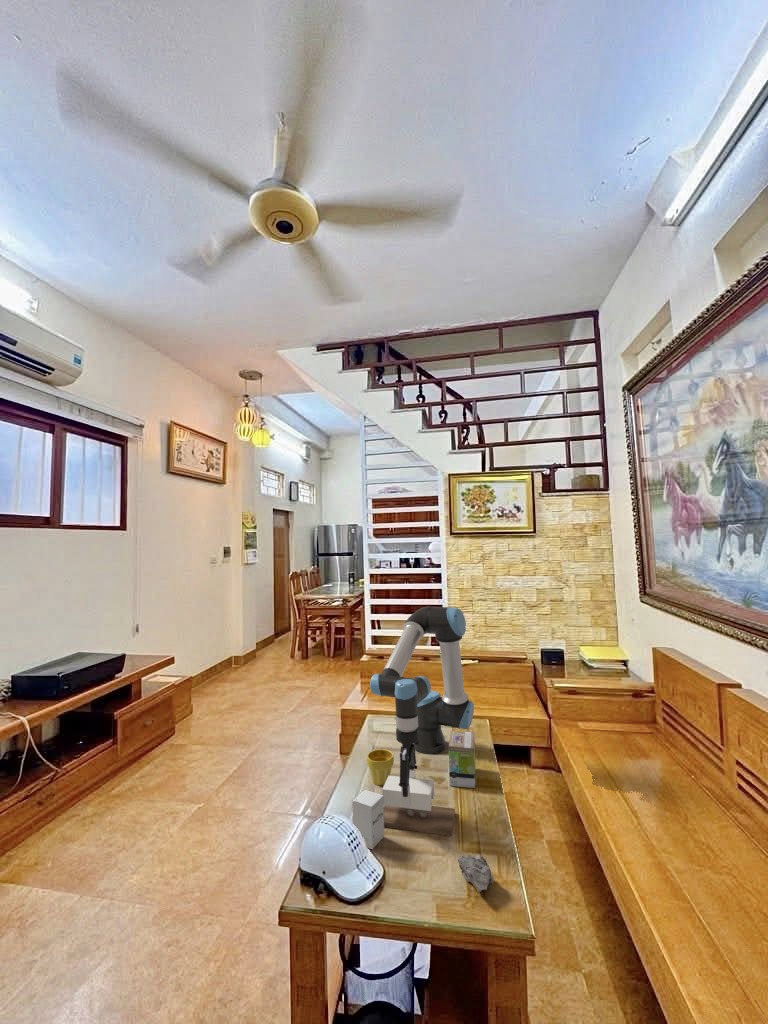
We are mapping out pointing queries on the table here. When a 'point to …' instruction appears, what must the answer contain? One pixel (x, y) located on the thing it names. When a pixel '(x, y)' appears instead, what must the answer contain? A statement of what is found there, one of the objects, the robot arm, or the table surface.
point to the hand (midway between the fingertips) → (408, 797)
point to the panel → (418, 793)
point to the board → (420, 819)
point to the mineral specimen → (476, 871)
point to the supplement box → (369, 816)
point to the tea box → (462, 759)
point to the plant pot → (380, 765)
